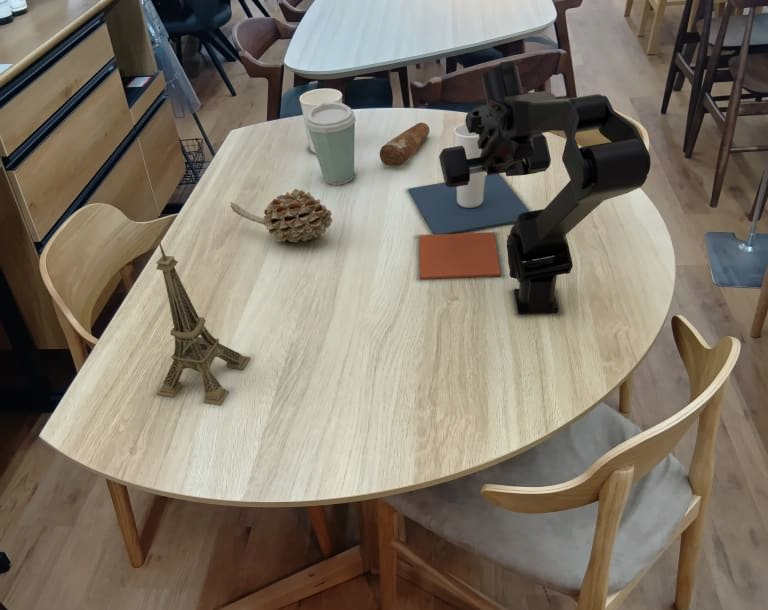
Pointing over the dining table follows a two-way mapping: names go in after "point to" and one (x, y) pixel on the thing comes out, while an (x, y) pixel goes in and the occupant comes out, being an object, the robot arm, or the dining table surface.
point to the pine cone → (292, 216)
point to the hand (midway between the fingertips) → (482, 177)
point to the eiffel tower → (192, 340)
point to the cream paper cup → (317, 103)
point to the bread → (404, 145)
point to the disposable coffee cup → (333, 140)
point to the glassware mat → (453, 218)
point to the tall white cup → (475, 189)
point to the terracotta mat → (458, 255)
